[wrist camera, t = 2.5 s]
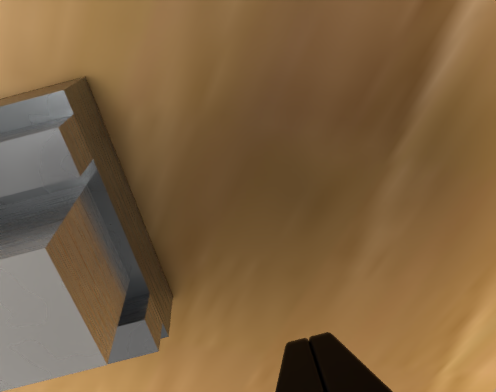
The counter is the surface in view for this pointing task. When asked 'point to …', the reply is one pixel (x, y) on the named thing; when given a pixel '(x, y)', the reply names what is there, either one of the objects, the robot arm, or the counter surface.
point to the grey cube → (57, 287)
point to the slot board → (102, 189)
